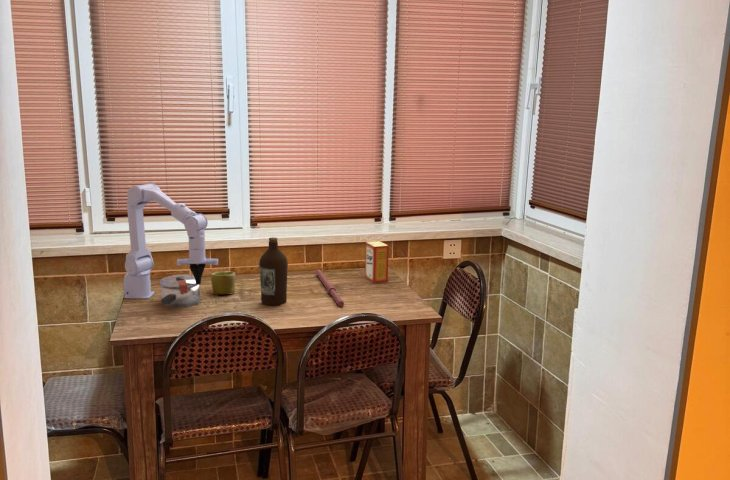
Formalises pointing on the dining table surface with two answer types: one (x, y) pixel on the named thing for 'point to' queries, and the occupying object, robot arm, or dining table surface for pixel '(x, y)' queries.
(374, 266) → the baking soda box
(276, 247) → the olive oil
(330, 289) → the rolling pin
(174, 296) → the silver pot
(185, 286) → the cooker lid
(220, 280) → the mug
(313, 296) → the dining table surface
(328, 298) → the dining table surface
